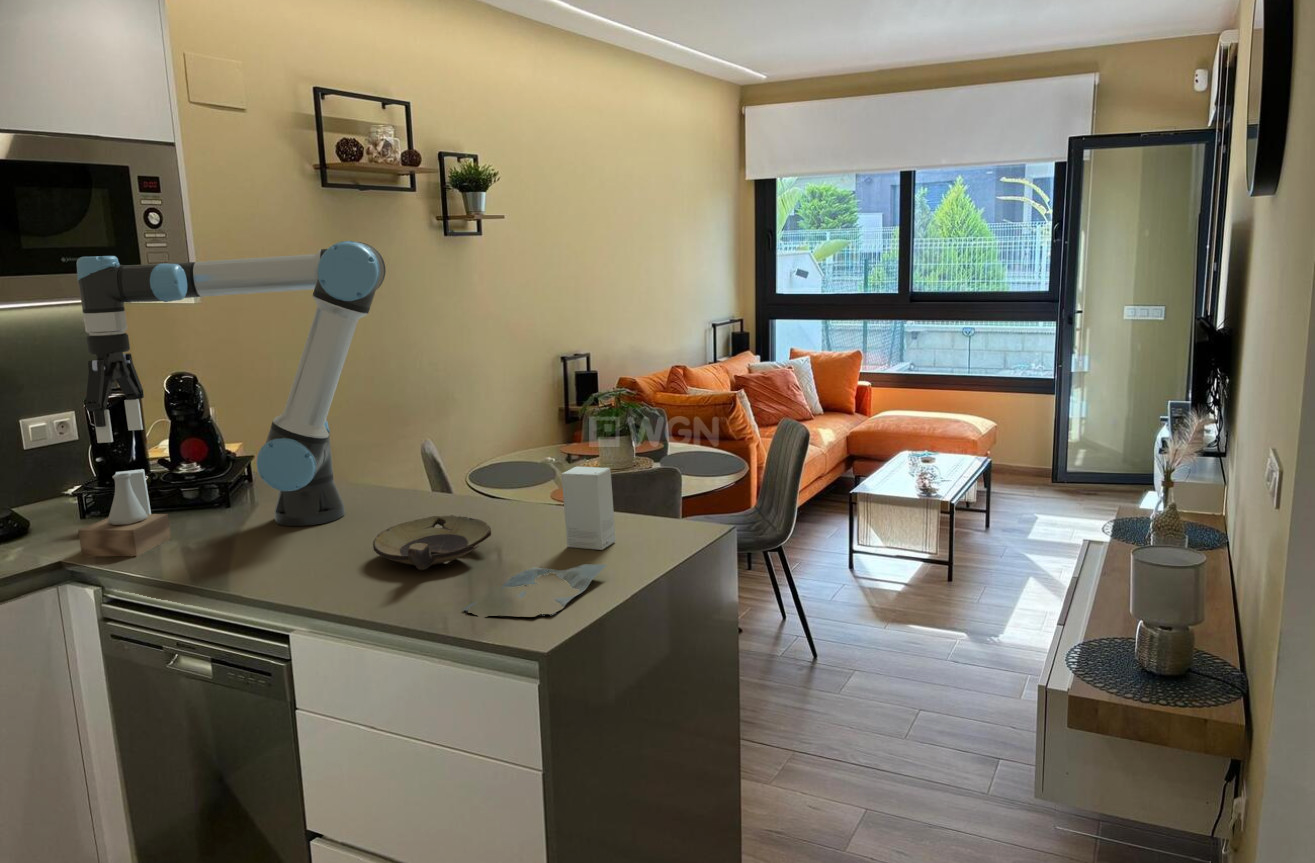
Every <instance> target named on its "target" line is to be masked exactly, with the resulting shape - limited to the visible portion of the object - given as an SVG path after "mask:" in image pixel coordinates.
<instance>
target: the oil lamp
mask: <svg viewBox="0 0 1315 863" xmlns="http://www.w3.org/2000/svg"><path fill="white" fill-rule="evenodd" d="M436 525H439V526H441V527H436ZM491 536H492V529H491V527H490V525H488V523H487V522H486V521H484V520H481V519H478V518H472V517H468V516H460V515H458V516H457V515H453V514H451V515H442V516H440V515H436V516H435V515H434V516H428V517H424V518H420V519H414V520H410V521H405V522H402V523H399V524H396V525H394V526H391V527H388V528H386V529H385V530H382V531H380V532H379V533H378V534H377V535H376V537H375V538H374V540H373V542H372V547H373V548H372V549H373V551H374V552H375V554H377V555H379V556H380V557H383V558H386V559H387V560H391V561H394V562H399V563H401V564H407V565H413V566H415V567H416V569H417V570H420V571H421V570H427V569H428V568H430V567H431V566H432V565H433V566H434V565H439V564H443V563H446V562H450V561H453V560H456V559H459V558H461V557H463V556H465V555H467V554H469V553H471V552H472V551H474V550H476V549H477V548H479V546H480V543H483V542H484V541H485V540H487V539H488V538H489V537H491Z"/></svg>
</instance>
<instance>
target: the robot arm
mask: <svg viewBox="0 0 1315 863" xmlns="http://www.w3.org/2000/svg"><path fill="white" fill-rule="evenodd" d="M386 272H387V270H386V264H385V260H384V258H383V256H382V254H381V253H380V252H379V251H378V250H377V248H375V247H374V246H372V245H370V244H368V243H365V242H361V241H353V240H344V241H343V240H342V241H339V242H336V243H335V244H332V245H331V246H329V247H328V248H320V249H319V250H318V251H317V252H316V253H315V254H314V253H313V254H312V253H311V254H297V255H283V256H282V255H281V256H265V257H252V258H251V257H250V258H249V257H248V258H233V259H222V260H221V259H220V260H205V261H203V260H202V261H195V262H194V261H189V262H187V261H186V262H170V263H166V262H164V263H163V262H162V263H151V264H150V263H149V264H147V263H146V264H131V265H129V264H128V265H125V264H120V262H119V258H118V257H117V256H116V255H102V256H101V255H100V256H81V257H79V258H78V259H77V261H76V276H77V279H76V280H77V284H78V289H79V296H80V301H81V309H82V316H83V317H82V319H81V321H82V322H83V323H84V330H85V333H87V334H88V335H86V338H85V340H86V346H87V352H88V354H91V355H96V360H92V359H91V360H88V361H87V366H88V375H87V378H88V379H87V386H86V387H87V388H86V396H85V409H86V411H87V412H92V413H93V420H94V428H95V434H96V440H97V444H102V443H103V444H104V443H105V444H106V443H113V442H114V438H113V431H112V423H111V415H110V410H109V409H107V405H108V401H109V397H110V392H111V389H112V385H113V383H114V382H116V383H117V385H118V387H119V388H120V390H121V391H122V394H123V395H124V397H125V398H126V399H125V400H123V401H124V409H125V417H126V423H127V429H128V430H127V431H142V430H144V426H143V421H142V420H143V419H142V411H141V404H140V399H144V398H145V395H144V388H143V386H142V383H141V381H140V378H139V376H138V373H137V370H136V368H135V365H134V361H133V356H132V353H129V352H128V351H130V350H131V346H130V338H129V334H128V333H127V332H126V331H127V330H128V322H127V315H126V311H125V310H126V308H125V303H126V304H128V303H129V304H130V303H157V302H159V303H161V302H164V303H168V302H169V303H170V302H175V301H182V300H184V299H192V298H202V297H218V296H219V297H221V296H233V295H246V294H247V295H248V294H263V293H277V292H278V293H280V292H281V293H282V292H294V291H295V292H296V291H311V290H313V292H312V295H311V296H312V298H313V301H315V304H316V310H315V312H314V316H313V318H312V322H311V325H310V327H309V331H308V333H307V337H306V340H305V343H304V347H303V349H302V353H301V356H300V358H299V363H298V365H297V369H296V371H295V375H294V377H293V382H292V384H291V387H290V391H289V393H288V396H287V397H288V398H287V400H286V402H285V407H284V409H283V413H281V414H280V415H277V416H276V417H274V418H273V419H272V422H271V424H270V428H269V430H268V434H267V438H266V440H265V443H264V444H263V445H262V446H261V447H260V449H259V451H258V453H257V458H256V469H257V473H258V475H259V476H260V478H261V479H262V481H263V482H264V483H265V484H267V486H269V487H271V488H273V489H275V490H276V491H279V492H278V495H277V500H276V505H275V509H274V521H275V523H276V524H277V525H280V526H286V527H306V526H314V525H320V524H326V523H330V522H333V521H334V522H335V521H336V520H339V519H340V518H343V516H345V514H346V511H345V504H344V502H343V500H342V497H341V495H340V492H339V490H338V488H337V486H336V483H335V480H334V470H333V469H334V468H333V460H332V449H331V447H332V446H331V438H330V437H331V436H330V434H331V431H330V427H329V422H328V420H327V417H328V414H329V411H330V408H331V405H332V403H333V400H334V395H335V393H336V390H337V387H338V383H339V381H340V377H341V375H342V371H343V368H344V366H345V362H346V359H347V356H348V352H349V349H350V347H351V344H352V342H353V338H354V334H355V331H356V329H357V326H358V321H359V320H360V319H361V318H363V317H366V316H368V315H369V312H370V311H371V307H372V303H373V300H374V298H375V294H376V292H377V290H378V289H379V288H380V287H381V286H382V284H383V282H385V281H384V280H385V277H386ZM127 352H128V353H127Z"/></svg>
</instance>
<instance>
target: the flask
mask: <svg viewBox="0 0 1315 863" xmlns="http://www.w3.org/2000/svg"><path fill="white" fill-rule="evenodd" d="M111 477H112V480H114V496H113V500H112V504H111V507H110V511H109V515H108V517H107V518H108V521H107V523H109V524H113V525H122V524H131V523H135V522H139V521H142V520H144V519H146V518H147V517H148V516H147V514H146V512H145V511H144V509H143V507H142V506H141V504H140V502H139V501H138V499H137V497H136V495H135V494H134V492H133V489H132V486H131V484H130V477H131V474H129V473H121V474H116V475H115V474H114V475H112V476H111Z"/></svg>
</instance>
